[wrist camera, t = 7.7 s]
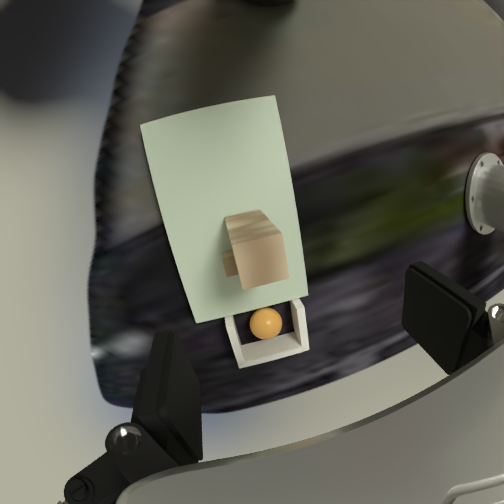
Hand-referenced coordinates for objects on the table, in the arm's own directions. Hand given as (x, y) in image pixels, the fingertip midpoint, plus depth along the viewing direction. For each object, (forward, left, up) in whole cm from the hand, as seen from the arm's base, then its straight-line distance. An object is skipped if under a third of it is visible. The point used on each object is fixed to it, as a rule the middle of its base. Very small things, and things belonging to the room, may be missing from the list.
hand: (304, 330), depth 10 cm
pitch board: (+1, -1, -18) cm, 18 cm away
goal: (0, +12, -18) cm, 21 cm away
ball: (0, +11, -16) cm, 20 cm away
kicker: (0, 0, -16) cm, 16 cm away
